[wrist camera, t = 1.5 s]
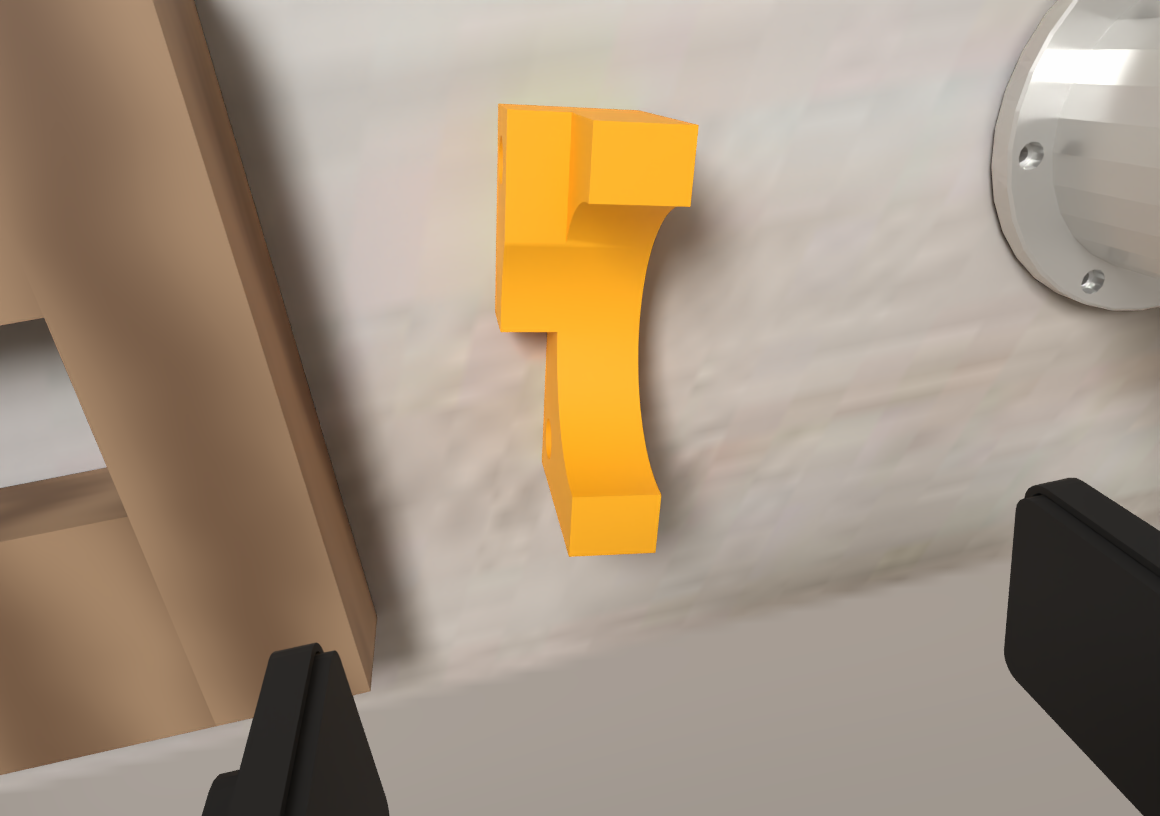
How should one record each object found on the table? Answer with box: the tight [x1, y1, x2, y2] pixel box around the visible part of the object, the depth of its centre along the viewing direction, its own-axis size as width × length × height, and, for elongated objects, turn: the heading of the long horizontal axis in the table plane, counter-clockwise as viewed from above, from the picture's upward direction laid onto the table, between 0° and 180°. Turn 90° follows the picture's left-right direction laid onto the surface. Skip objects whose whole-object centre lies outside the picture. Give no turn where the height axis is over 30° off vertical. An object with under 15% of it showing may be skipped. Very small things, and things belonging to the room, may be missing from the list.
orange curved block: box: [495, 104, 699, 557], centre depth 25 cm, size 12×4×6 cm, turn 177°
